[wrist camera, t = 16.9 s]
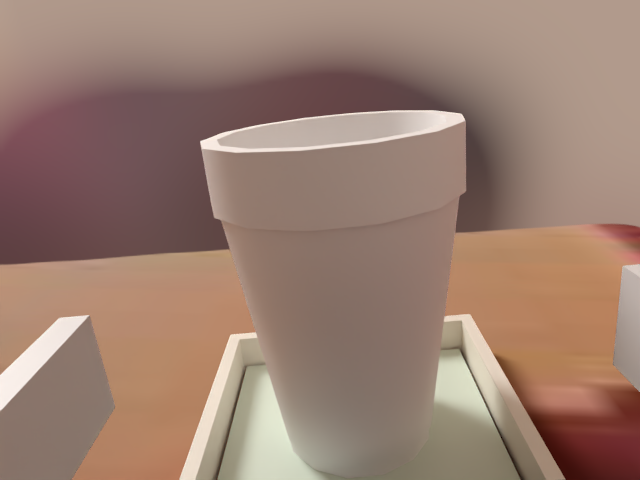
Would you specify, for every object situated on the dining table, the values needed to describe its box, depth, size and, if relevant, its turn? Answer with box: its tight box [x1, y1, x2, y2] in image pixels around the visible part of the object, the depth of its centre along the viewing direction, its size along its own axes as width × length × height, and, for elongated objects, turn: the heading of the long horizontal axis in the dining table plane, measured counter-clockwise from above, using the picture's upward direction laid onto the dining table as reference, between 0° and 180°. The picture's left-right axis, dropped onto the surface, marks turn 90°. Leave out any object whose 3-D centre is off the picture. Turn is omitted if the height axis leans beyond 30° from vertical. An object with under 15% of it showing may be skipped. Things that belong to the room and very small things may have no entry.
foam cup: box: [200, 110, 466, 478], centre depth 20 cm, size 10×9×13 cm
